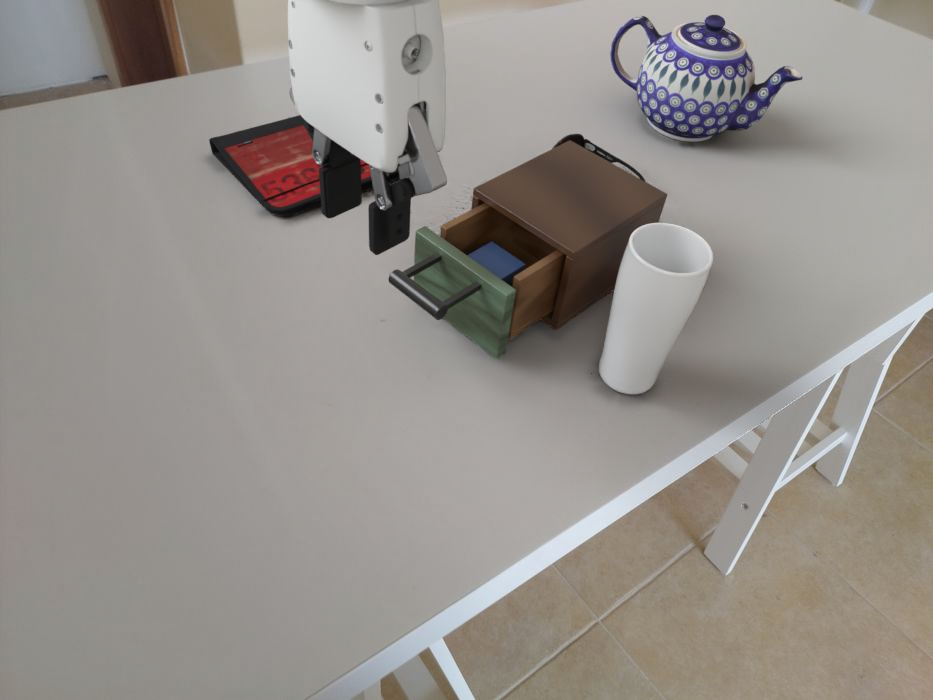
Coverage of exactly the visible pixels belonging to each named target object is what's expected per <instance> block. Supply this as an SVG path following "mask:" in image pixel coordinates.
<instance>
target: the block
mask: <svg viewBox="0 0 933 700" xmlns="http://www.w3.org/2000/svg"><path fill="white" fill-rule="evenodd" d="M467 256H469V257H470V258H471V259H473V260H474V261H476V262H477V263H479V264H480V265H481V266H483V267H484V268H486V269H487V270H489V271H490V272H491V273H493V274H494V275H496V276H497V277H499V278H500V279H501V280H503V281H504V282H506V283H507V284H508V285H510V286H511V287H512V286H513V280H514V276H515V275H517V274H519V273H520V272H522V271H524V270H525V266H526V264H524V263H523V262H522V261H520V260H519V259H517V258H516V257H514V256H513V255H511V254H510V253H508V252H507V251H505V250H504V249H502V248H501V247H499V246H498V245H496V244H495V243H493V242H490V243H488V244H486V245H485V246H483V247H481V248H479V249H478V250H476V251H474V252H472V253H470V254H469V255H467Z"/></svg>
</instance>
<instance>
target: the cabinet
mask: <svg viewBox="0 0 933 700" xmlns="http://www.w3.org/2000/svg"><path fill="white" fill-rule="evenodd" d="M552 148H553V147H552ZM552 148H551V149H549V150H547V151H545V152H543V153H542V154H540V155H538V156H535V157H533V158H531V159H529V160H528V161H526V162H523V163H521V164H519V165H517V166H516V167H514V168H511V169H509V170H507V171H506V172H503V173H501V174H499V175H497V176H495V177H494V178H491V179H489V180H487V181H485V182H483V183H481V184H479V185H477V186H475V187H473V191H472V197H471V207H470V208H471V209H470V210H472V209H474V208H476V207H478V206H480V205H482V204H483V203H486V204H488V205H489V206H491V207H492V208H494V209H495V210H497V211H499V212H500V213H502V214H503V215H505V216H506V217H508V218H509V219H511V220H512V221H514V222H516V223H517V224H519V225H520V226H522V227H523V228H525V229H526V230H528V231H530V232H531V233H533V234H534V235H536V236H537V237H539V238H540V239H542V240H543V241H545V242H547V243H548V244H550V245H551V246H553V247H554V248H556V249H557V250H559V251H560V252H562V253H564V254H565V255H567V256H566V259H565V264H564V268H563V272H562V277H561V281H560V285H559V290H558V294H557V299H556V303H555V307H554V310H553V311H552V312H550V313H549V314H548V315H546V316H545V317H543V318H542V319H540V320H541V321H542V322H544V323H545V324H546V325H548V326H549V327H551V328H552V329H554V331H558V330H559V329H560V328H562V327H563V326H564V325H566V324H567V323H569V322H571V321H572V320H573V319H575V318H576V317H578V316H579V315H580V314H581V313H583V312H584V311H586V310H587V309H589V307H591V306H593V305H594V304H596V303H597V302H599V301H600V300H601V299H603V298H604V297H606V296H607V295H608V294H610V293H611V292H614V289H615V284H616V279H617V275H618V271H619V268H620V264H621V261H622V258H623V255H624V252H625V249H626V246H627V244H628V241H629V238H630V236H631V234H632V233H633V232H634V231H635V230H636V229H637V228H639V227H641V226H643V225H646V224H651V223H660V219H661V217H662V213H663V210H664V208H665V207H664V206H665V204H666V201H667V197H668V193H666V192H665V191H663V190H661V189H659V188H657V187H655V185H652V184H650V183H648V182H647V181H646V180H645V181H643V180H641V179H640V178H639V177H638V176H637V175H634V174H632V173H630V172H629V171H627V170H625V169H623V168H621V167H619V166H617V165H616V164H614V163H610V162H609V161H607V160H605V159H603V158H601V157H599V156H598V155H596V154H594V153H592V152H590V151H589V150H587V149H585V148H583V147H581V146H580V145H578V144H576V143H574V142H572V141H570V140H569V141H567V142H565V143H563V144H561V145H559V146H557V147H555V148H553V149H552Z"/></svg>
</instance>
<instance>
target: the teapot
mask: <svg viewBox="0 0 933 700" xmlns="http://www.w3.org/2000/svg"><path fill="white" fill-rule="evenodd" d="M725 25H726V20H725V18H724V17H723V16H721V15H720V14H710V15H707V16H706V17H705V19H704V22H699V21H695V22H693V21H692V22H684V23H680V24H678V25H676V26H674V27H673V29H672V30H671V31H669V32H667V33H665V34H663V35H662V34H660V33H659V32H658V29H656V26H655V25H654V24H653V23H652V21H651V20H650V19H649V18H648V17H647V16H645V15H639V16H635V17H632V18H631V19H628V21H626V22H625V23H623V25H622V26H621V27H620V28H619V29H618V31H616V33H615V35H614V37H613V40H612V42H611V47H610V52H609V53H610V54H609V56H610V63H611V67H612V68H613V71H614V73H615V74H616V75H617V77H618V78H619V79H620V80H621V81H622V82H623V83H625V84H626V85H627V86H628V87H630V88H631V89H633V90H634V91H635V92H636V98H637V103H638V106H639V107H640V110H641V111H642V114H643V115H644V116H645V117H646V120H647V122H648V124H649V125H650V127H651V128H652V129H653V130H654V131H656V132H657V133H659V134H661V135H662V136H665V137H667V138H669V139H673V140H677V141H681V142H693V143H694V142H702V141H703V142H704V141H706V140H709V139H711V138H712V137H713V136H716V135H719V134H722V133H724V132H726V131H729V132H731V131H732V132H741V131H745V130H749V128H751V127H752V126H754V125H756V124H757V123H758V122H759V121H760V120H761V119H762V118H763V117H764V115H765V114H766V112H767V110H768V109H769V107H770V106H771V104H772V103H773V101H774V99H775V98H776V96H777V95H778V93H779V91H780V90H781V89H782V88H783V87H784V86H785V85H786V84H788V83H792V82H796V81H797V82H798V81H802V80H803V75H802V73H801V72H800V71H798V70H797V69H796V68H794V67H793V66H790V65H784V66H781V67H779V68H778V69H777V70H775V71H774V72H773V73H771V75H769V77H768V78H767V79H765V81H763V82H761V83H757V84H756V70H755V69H756V68H755V65H754V61H753V59H752V57H751V55H750V54H749V53H748V52H747V46H748V45H747V42H746V40H745V39H744V38H743V37H742V36H741V35H740V34H738V33H737V32H736V31H734V30H731V29H729V28H728V27H725ZM635 26H641V27H642V28H643V29H644V31H645V34H646V52H645V54H644V56H643V59H642V61H641V64H640V68H639V70H638V74H637V77H633V76H631V75H630V74H629V73H628V72H626V71H625V69H624V68H623V66H622V63H621V60H620V57H619V47H620V43H621V40H622V38H623V37H624V35H626V33H627V32H628V31H629V30H630V29H632V28H633V27H635Z"/></svg>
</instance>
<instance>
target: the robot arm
mask: <svg viewBox="0 0 933 700" xmlns="http://www.w3.org/2000/svg"><path fill="white" fill-rule="evenodd" d="M287 41H288V43H287V45H288V46H287V47H288V62H289V76H290V83H291V87H290V89H289V98H290V100H291V102H292V103H293V105H294V107H295V109H296V111H297V112H298V115H301V116H302V118H303V119H304V127H305V129H306V130H307V132H308V133H309V135H310V137H311V139H312V141H313V147H312V156H313V158H314V160H315V162H316V163H317V164H318V165H322V167H321V168H319V181H320V195H321V207H320V209H321V214H322V216H323V217H325V218H326V219H333V218H336V217H337V216H340V215H342V214H344V213H346V212H348V211H350V210H353V209H355V208H357V207H360V205H361V204H362V202H363V199H362V197H363V196H362V194H363V193H362V191H361V162H360V159H361V160H363V161H364V162H366V163H368V164H369V168H370V174H371V180H372V185H373V189H372V190H373V191H372V192H373V196H374V201H372V202H370V203H369V204H368V247H369V251H370V252H371V253H372V254H373V255H375V256H378V255H379V256H380V255H381V254H383V253H385V252H387V251H389V250H390V249H392V248H394V247H396V246H398V245H400V244H402V243H405V242H406V241H407V240H408V239H409V237H410V235H411V234H410V233H411V209H412V208H411V207H412V206H411V205H412V203H411V202H412V198H414V197H418V196H422V195H423V196H424V195H426V194H431V193H433V192H434V191H437V190H439V189H441V188H443V187H445V186H447V184H448V178H447V174H446V172H445V169H444V167H443V164H442V161H441V159H440V155H439V152H441V151H442V150H443V149H444V148H443V147H444V144H445V143H444V142H445V136H446V135H445V134H446V115H447V113H446V112H447V73H446V72H447V70H446V69H447V68H446V52H445V51H446V50H445V37H444V27H443V19H442V11H441V7H440V1H439V0H287ZM351 153H352V155H351ZM397 167H398V172H399V178H400V179H398V180H396V181H395V182H394V183H393V184H391V182H390V180H389V174H388V172H394V171H396V169H397Z"/></svg>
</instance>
